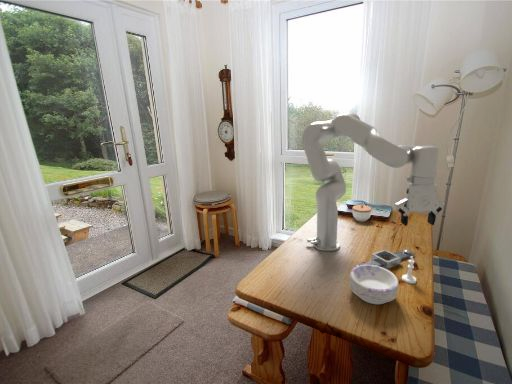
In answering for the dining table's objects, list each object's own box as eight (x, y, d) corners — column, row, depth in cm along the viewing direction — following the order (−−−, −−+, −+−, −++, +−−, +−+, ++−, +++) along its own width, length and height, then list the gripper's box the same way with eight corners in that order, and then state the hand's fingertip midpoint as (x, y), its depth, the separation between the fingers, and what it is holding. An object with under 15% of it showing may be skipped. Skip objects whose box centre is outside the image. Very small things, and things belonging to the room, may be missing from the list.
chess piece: (411, 275, 100) (414, 252, 98) (419, 283, 96) (422, 259, 93) (399, 276, 100) (401, 253, 98) (406, 284, 96) (409, 260, 93)
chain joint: (366, 276, 101) (366, 269, 100) (351, 266, 108) (352, 260, 108) (418, 257, 112) (418, 251, 111) (401, 249, 119) (402, 243, 119)
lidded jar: (372, 223, 150) (373, 208, 147) (352, 222, 152) (353, 207, 150) (369, 216, 160) (370, 202, 157) (350, 216, 162) (351, 202, 160)
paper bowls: (375, 317, 81) (377, 296, 78) (340, 290, 94) (341, 271, 92) (406, 300, 87) (409, 280, 85) (369, 277, 100) (370, 259, 98)
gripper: (402, 183, 90) (398, 228, 94) (454, 181, 88) (447, 227, 93) (393, 179, 97) (389, 221, 102) (440, 177, 96) (435, 219, 100)
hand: (417, 224), depth 97 cm, fingers open, 9 cm apart
